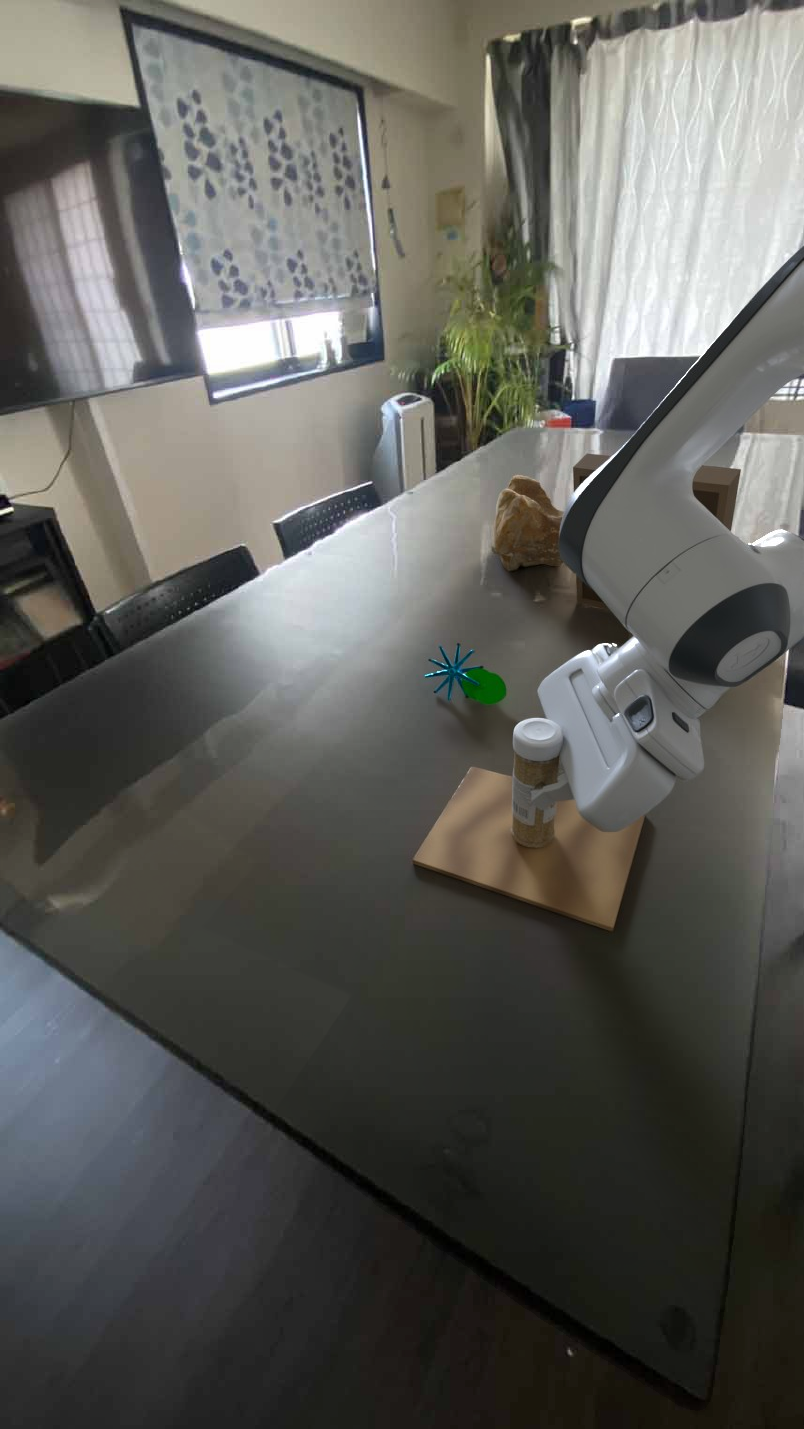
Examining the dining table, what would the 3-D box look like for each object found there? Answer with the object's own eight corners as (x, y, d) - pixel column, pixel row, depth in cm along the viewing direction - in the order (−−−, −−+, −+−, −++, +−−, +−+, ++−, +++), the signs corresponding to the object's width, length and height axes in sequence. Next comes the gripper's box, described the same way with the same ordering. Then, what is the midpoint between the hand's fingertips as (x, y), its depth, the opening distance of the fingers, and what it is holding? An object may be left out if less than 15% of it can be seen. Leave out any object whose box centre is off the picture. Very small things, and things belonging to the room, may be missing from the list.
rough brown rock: (571, 589, 117) (586, 507, 109) (481, 578, 120) (489, 498, 112) (575, 546, 136) (588, 473, 127) (497, 538, 139) (505, 466, 131)
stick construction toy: (413, 684, 89) (437, 633, 88) (425, 685, 95) (448, 638, 94) (491, 722, 86) (517, 670, 85) (498, 721, 93) (522, 672, 92)
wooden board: (645, 815, 68) (646, 811, 68) (612, 932, 57) (613, 928, 57) (471, 769, 77) (471, 765, 76) (412, 863, 65) (412, 859, 65)
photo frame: (588, 593, 113) (603, 444, 99) (715, 623, 101) (754, 458, 87) (546, 626, 105) (557, 468, 90) (681, 663, 93) (717, 487, 78)
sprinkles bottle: (562, 843, 65) (572, 739, 57) (520, 854, 64) (525, 750, 57) (542, 813, 69) (550, 711, 61) (503, 823, 68) (505, 721, 60)
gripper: (591, 617, 64) (492, 704, 70) (663, 743, 47) (525, 844, 53) (630, 653, 66) (531, 734, 72) (712, 785, 49) (574, 876, 55)
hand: (529, 782), depth 62 cm, fingers closed on sprinkles bottle, 4 cm apart
